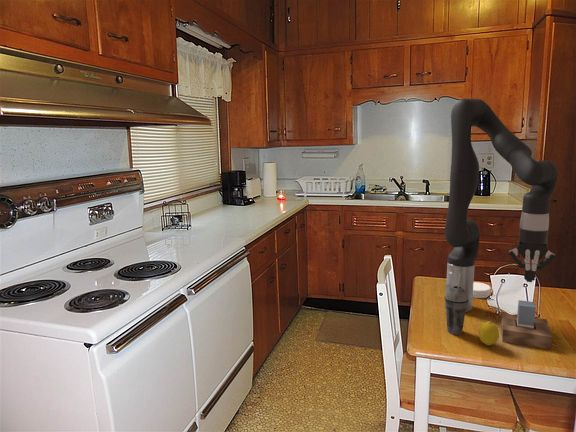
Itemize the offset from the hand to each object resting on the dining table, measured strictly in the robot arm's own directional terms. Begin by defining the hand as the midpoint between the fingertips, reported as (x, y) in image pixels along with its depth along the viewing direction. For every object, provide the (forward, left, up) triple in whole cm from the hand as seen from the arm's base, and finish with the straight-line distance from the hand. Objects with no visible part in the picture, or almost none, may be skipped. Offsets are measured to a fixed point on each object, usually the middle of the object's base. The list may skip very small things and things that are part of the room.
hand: (529, 281), depth 131 cm
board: (0, 0, -18) cm, 18 cm away
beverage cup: (-21, -5, -19) cm, 28 cm away
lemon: (-11, -11, -19) cm, 24 cm away
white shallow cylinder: (-15, +33, -19) cm, 41 cm away
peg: (0, 0, -18) cm, 18 cm away
